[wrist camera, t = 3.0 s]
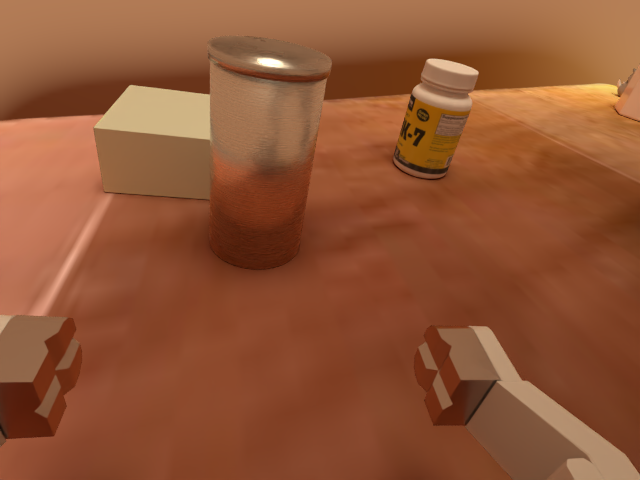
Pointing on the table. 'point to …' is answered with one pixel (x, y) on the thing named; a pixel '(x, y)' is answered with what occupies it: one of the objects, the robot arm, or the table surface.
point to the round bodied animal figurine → (624, 84)
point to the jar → (630, 98)
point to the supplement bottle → (435, 119)
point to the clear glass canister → (261, 146)
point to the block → (156, 143)
